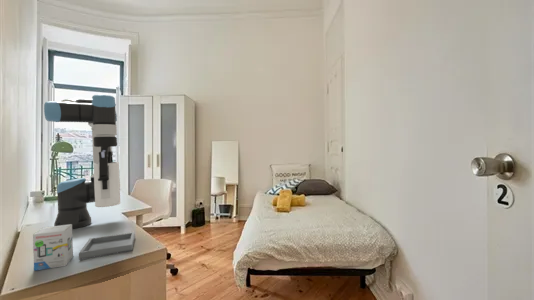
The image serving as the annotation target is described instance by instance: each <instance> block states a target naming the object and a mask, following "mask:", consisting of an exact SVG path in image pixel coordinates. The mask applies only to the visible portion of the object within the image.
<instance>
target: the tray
mask: <svg viewBox="0 0 534 300" xmlns="http://www.w3.org/2000/svg"><path fill="white" fill-rule="evenodd" d="M135 239H136V232H135V231H132V232H126V233H120V234H119V233H118V234H112V235H105V236H99V237H92V238H91V237H90V238H89V239H88V240H87V241H86V243H85V244H84V245H83V247H82V248H81V250H79V252H78V260H79V261H83V260H88V259H93V258H99V256H100V257H105V256H110V255H116V254H122V253H123V254H125V253H128V252H133V249H134V244H135Z"/></svg>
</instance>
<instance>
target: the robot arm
mask: <svg viewBox="0 0 534 300" xmlns="http://www.w3.org/2000/svg"><path fill="white" fill-rule="evenodd" d="M116 105H117V104H116V98H115V97H114V96H113V95H110V94H94V95H92V97H91V98H86V97H74V98H73V97H72V98H67V99H63V100H61V101H56V100H55V101H45V103H44V106H43V112H44V118H45V120H46V121H47V122H55V123H59V122H60V123H87V125H88V126H89V127H91V128H90V129H91V133H92V135H91V136H92V139H91V140H92V157H93V158H92V159H93V161H92V162H93V163H92V164H94V163H99V179H98V181H101V199H103V198H110V180H109V165H108V163H111V162H114V161H113V155H114V154H113V147H117V146H118V140H117V139H118V138H117V137H116V136H117V135H118V133H117V131H118V129H117V121H118V118H117V117H118V116H117V110H116ZM56 187H57V188H56V189H57V191H56V195H57V215H56V218H55V221H54V222H53V223H54V224H53V226H61V225H69V224H72V230H73V229H79V228H84V227H86V226H88V225H91V224H92V217H91V214H90V213H89V211H88V206H87V205H88V204H89V203H90V204H91V203H95V188H94V173H93V174H92V175H91V176H90V179H89V180H87V179H86V177H81V178H73V179H68V180H65V181H61V182H59V183H58V184H57V186H56Z"/></svg>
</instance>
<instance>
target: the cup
mask: <svg viewBox="0 0 534 300" xmlns="http://www.w3.org/2000/svg"><path fill="white" fill-rule="evenodd" d="M92 164H93V163H92ZM108 165H109V180H110V198H103V199H101V181H98V179H99V163H94V164H93V174H94V188H95V202H94V206H95V207H96V208H107V207H108V208H110V207H114V206H118V205H120V204H121V188H120V187H121V184H120V183H121V182H120V162H118V161H113V162H111V163H108Z"/></svg>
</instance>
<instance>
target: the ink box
mask: <svg viewBox="0 0 534 300" xmlns="http://www.w3.org/2000/svg"><path fill="white" fill-rule="evenodd" d="M32 241H33V242H32V245H33V247H32V249H33V271H42V270H47V269H53V268H58V267H60V268H61V267H65V266H68V264H69V263H70V262H71V260H72V258H73V257H74V249H73V248H74V247H73V245H74V244H73V229H72V224H69V225H61V226H54V225H53V226H47V227H45V226H44V227H42V228H40V229H39V230H38V231H36V232H34V234H32Z"/></svg>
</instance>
